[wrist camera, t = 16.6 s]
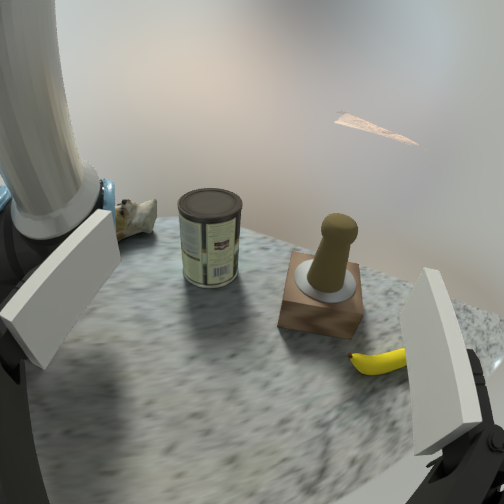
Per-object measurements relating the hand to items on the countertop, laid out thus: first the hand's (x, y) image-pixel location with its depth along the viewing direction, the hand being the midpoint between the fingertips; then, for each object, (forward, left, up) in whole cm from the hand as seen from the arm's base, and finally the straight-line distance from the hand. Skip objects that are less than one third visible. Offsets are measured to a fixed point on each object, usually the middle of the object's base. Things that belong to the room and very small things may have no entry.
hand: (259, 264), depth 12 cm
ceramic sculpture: (-34, +37, -30) cm, 58 cm away
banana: (+20, +17, -30) cm, 40 cm away
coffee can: (-12, +32, -29) cm, 45 cm away
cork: (+7, +28, -23) cm, 37 cm away
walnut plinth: (+8, +28, -29) cm, 41 cm away
